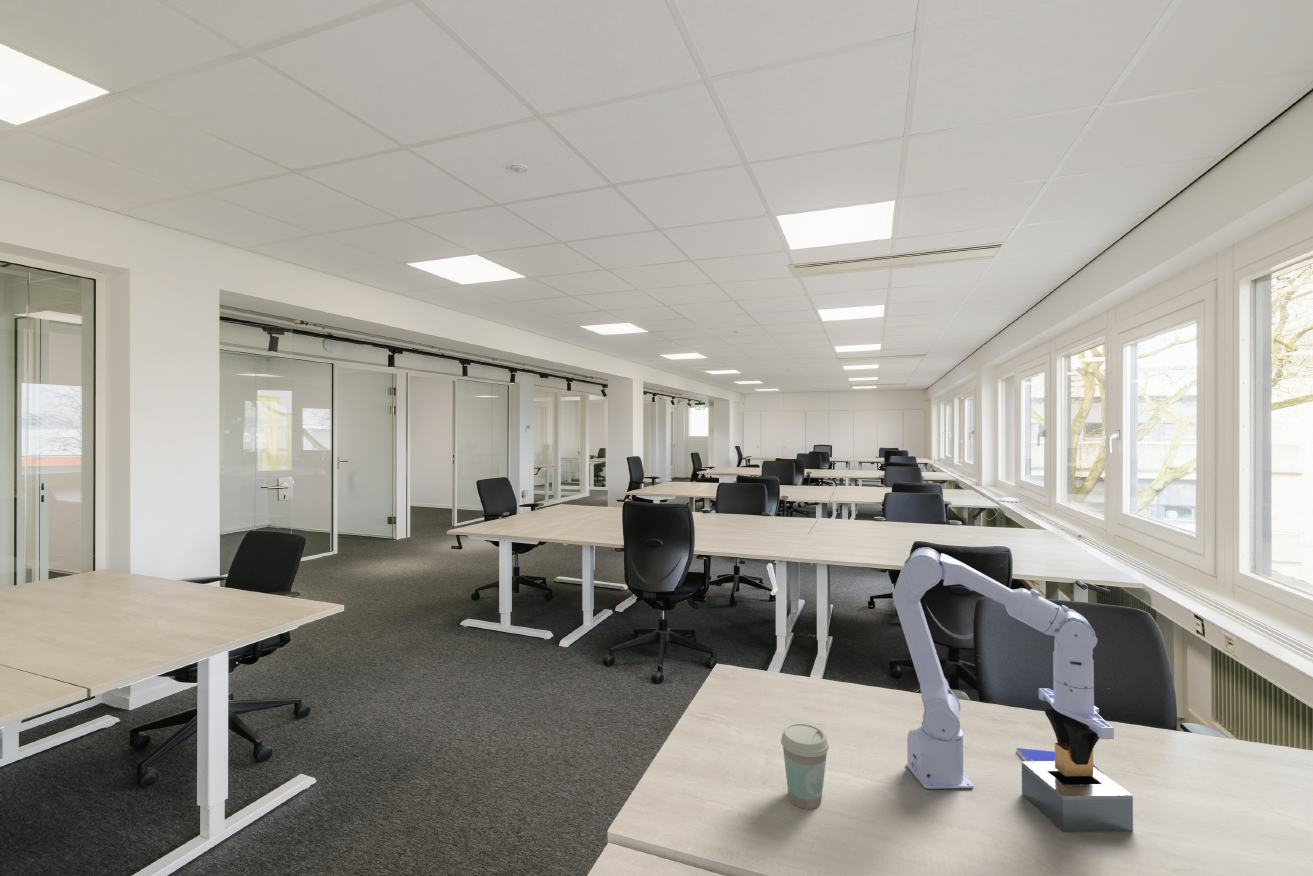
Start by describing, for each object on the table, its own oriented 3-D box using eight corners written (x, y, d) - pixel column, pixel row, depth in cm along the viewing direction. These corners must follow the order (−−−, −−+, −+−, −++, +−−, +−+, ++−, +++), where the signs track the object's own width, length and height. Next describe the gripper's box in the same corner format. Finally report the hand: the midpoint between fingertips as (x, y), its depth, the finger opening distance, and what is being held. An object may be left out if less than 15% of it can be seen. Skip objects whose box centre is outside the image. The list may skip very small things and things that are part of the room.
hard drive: (1036, 769, 107) (1107, 776, 105) (1016, 746, 115) (1081, 752, 113) (1036, 777, 107) (1107, 784, 105) (1016, 754, 115) (1081, 760, 113)
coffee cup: (803, 820, 94) (803, 750, 94) (771, 792, 102) (771, 728, 102) (839, 805, 98) (839, 738, 98) (806, 779, 106) (805, 717, 106)
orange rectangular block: (1065, 776, 95) (1065, 750, 95) (1054, 768, 97) (1054, 742, 97) (1093, 775, 95) (1093, 750, 95) (1082, 767, 97) (1082, 742, 98)
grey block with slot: (1063, 832, 91) (1062, 796, 91) (1021, 793, 101) (1021, 761, 101) (1133, 831, 91) (1132, 795, 91) (1084, 792, 101) (1084, 760, 101)
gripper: (1131, 700, 89) (1132, 783, 89) (1064, 665, 104) (1064, 736, 104) (1089, 701, 89) (1090, 784, 89) (1027, 665, 104) (1028, 736, 103)
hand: (1074, 758), depth 96 cm, fingers closed on orange rectangular block, 2 cm apart
